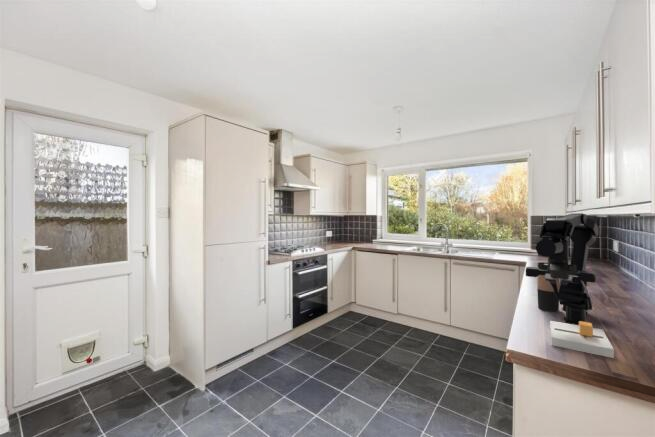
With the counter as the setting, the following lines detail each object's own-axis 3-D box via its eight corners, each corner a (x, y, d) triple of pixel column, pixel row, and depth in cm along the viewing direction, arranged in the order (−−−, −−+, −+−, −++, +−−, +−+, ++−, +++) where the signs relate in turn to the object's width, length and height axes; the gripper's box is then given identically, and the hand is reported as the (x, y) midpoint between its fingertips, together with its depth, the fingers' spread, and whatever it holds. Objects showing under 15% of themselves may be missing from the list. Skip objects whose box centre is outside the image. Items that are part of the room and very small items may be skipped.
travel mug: (537, 305, 131) (537, 261, 130) (559, 308, 126) (559, 263, 126) (536, 309, 125) (536, 263, 125) (559, 313, 120) (559, 265, 120)
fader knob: (578, 330, 94) (578, 321, 94) (590, 332, 92) (591, 323, 92) (580, 334, 91) (580, 324, 91) (592, 336, 89) (592, 326, 89)
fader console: (549, 327, 104) (549, 320, 104) (602, 336, 96) (602, 329, 96) (551, 345, 90) (551, 336, 90) (613, 358, 82) (613, 349, 81)
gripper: (525, 255, 99) (525, 299, 99) (598, 259, 88) (598, 309, 88) (525, 251, 108) (526, 292, 108) (592, 255, 97) (592, 300, 97)
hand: (558, 298), depth 100 cm, fingers closed
